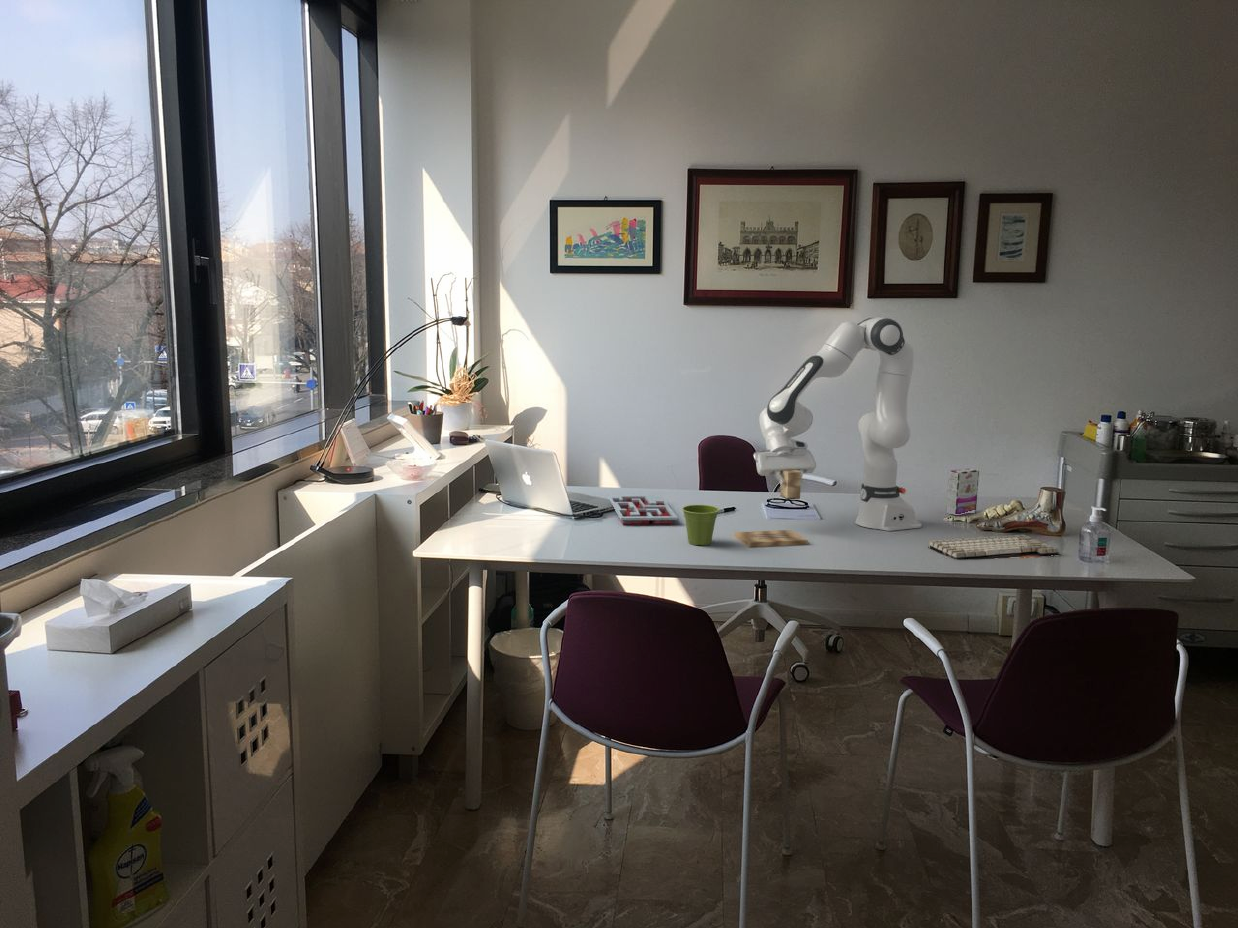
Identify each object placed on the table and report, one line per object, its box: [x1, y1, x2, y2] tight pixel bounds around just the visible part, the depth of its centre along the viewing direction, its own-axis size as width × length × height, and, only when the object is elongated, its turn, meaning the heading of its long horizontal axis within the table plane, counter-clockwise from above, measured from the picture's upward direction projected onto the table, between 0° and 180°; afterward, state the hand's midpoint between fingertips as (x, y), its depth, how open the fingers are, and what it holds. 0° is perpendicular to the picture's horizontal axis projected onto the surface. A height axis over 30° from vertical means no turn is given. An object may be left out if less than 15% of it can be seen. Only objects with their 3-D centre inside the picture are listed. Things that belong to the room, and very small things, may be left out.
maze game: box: [608, 495, 679, 526], centre depth 345 cm, size 35×20×3 cm, turn 7°
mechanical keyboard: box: [927, 534, 1061, 561], centre depth 308 cm, size 38×19×3 cm, turn 107°
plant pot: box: [681, 504, 720, 546], centre depth 307 cm, size 12×12×11 cm
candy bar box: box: [945, 467, 980, 514], centre depth 358 cm, size 11×5×16 cm, turn 120°
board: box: [733, 529, 809, 548], centre depth 313 cm, size 20×13×2 cm, turn 105°
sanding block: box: [780, 470, 802, 500], centre depth 322 cm, size 5×5×9 cm
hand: (792, 483), depth 321 cm, fingers closed on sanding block, 5 cm apart
